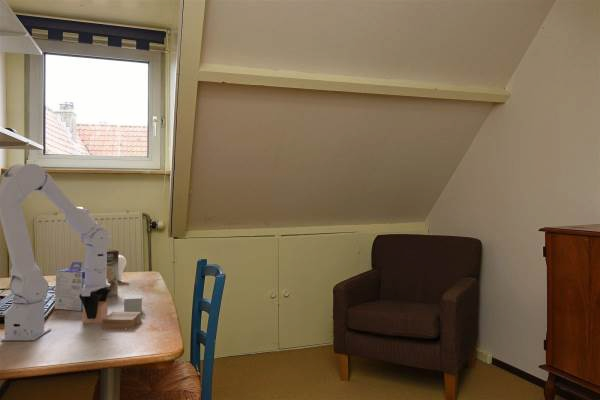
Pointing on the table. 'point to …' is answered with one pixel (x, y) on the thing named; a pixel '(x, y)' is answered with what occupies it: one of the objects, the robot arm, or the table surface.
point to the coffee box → (112, 271)
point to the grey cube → (133, 303)
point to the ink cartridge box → (69, 288)
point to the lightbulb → (121, 266)
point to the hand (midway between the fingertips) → (95, 315)
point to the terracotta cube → (100, 313)
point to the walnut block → (121, 320)
